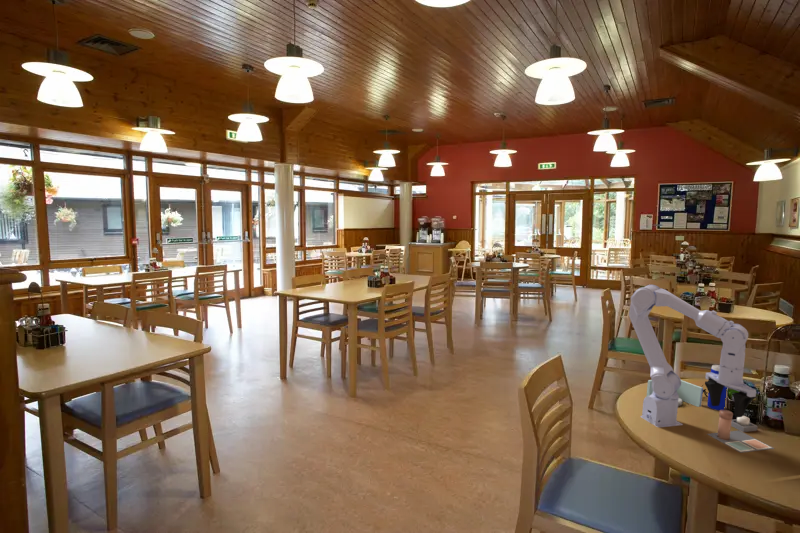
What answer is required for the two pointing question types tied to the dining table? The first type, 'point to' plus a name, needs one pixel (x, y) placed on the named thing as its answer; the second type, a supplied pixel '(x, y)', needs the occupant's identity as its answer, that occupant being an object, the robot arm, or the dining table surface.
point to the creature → (705, 392)
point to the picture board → (742, 442)
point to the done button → (743, 420)
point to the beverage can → (722, 401)
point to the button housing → (743, 429)
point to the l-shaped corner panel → (684, 393)
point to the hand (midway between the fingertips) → (726, 410)
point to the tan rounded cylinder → (724, 424)
